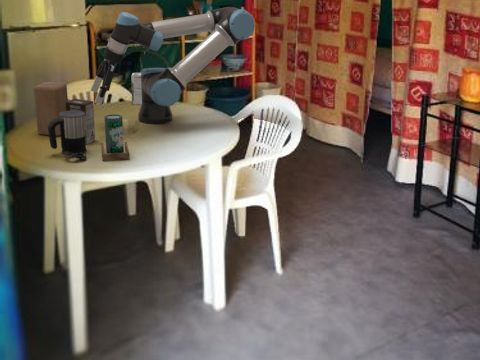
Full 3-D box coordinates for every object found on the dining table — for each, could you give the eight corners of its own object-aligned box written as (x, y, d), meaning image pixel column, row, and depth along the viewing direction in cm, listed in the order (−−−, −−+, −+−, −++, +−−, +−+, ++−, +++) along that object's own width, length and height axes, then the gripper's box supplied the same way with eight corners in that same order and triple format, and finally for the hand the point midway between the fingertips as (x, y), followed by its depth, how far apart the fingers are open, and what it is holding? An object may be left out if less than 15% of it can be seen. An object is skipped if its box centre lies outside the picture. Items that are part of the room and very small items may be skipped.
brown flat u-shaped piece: (126, 148, 237) (126, 141, 236) (129, 159, 225) (129, 153, 224) (101, 149, 235) (101, 143, 234) (102, 161, 223) (102, 154, 222)
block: (59, 136, 248) (55, 88, 241) (37, 134, 250) (32, 86, 242) (71, 130, 257) (67, 82, 250) (49, 128, 259) (44, 81, 251)
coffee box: (67, 141, 243) (64, 101, 237) (76, 137, 248) (73, 98, 242) (87, 144, 240) (84, 104, 234) (96, 139, 246) (93, 100, 240)
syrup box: (132, 101, 303) (131, 72, 298) (144, 101, 304) (144, 72, 298) (131, 104, 298) (130, 75, 293) (144, 104, 298) (143, 75, 293)
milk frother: (76, 145, 238) (73, 108, 233) (104, 154, 230) (102, 115, 224) (46, 155, 227) (42, 116, 222) (75, 164, 219) (72, 124, 214)
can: (115, 159, 225) (113, 119, 219) (103, 156, 228) (101, 116, 222) (127, 154, 230) (125, 116, 224) (114, 151, 233) (112, 113, 227)
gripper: (102, 38, 254) (83, 83, 261) (111, 56, 233) (90, 105, 240) (119, 44, 258) (100, 89, 264) (129, 63, 237) (108, 111, 244)
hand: (95, 97), depth 252 cm, fingers open, 13 cm apart
